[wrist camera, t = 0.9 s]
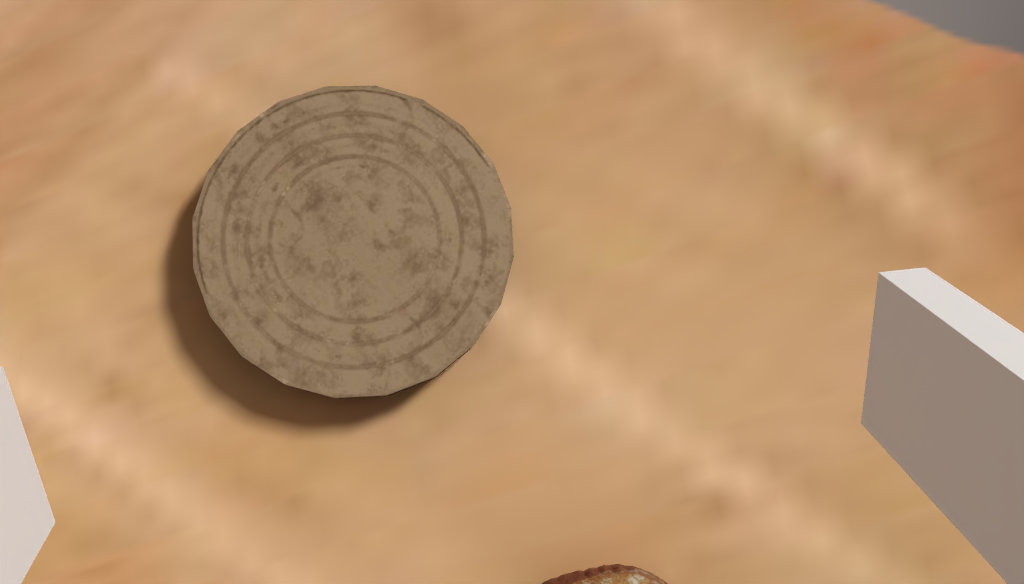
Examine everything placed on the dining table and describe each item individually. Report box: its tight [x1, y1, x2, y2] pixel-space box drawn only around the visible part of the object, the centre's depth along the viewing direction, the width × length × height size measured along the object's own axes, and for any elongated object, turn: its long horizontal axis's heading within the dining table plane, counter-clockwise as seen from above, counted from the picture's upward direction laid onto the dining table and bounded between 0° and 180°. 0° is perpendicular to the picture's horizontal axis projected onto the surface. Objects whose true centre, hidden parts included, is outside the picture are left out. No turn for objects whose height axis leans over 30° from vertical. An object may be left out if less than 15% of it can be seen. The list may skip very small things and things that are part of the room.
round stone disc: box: [192, 86, 514, 398], centre depth 45 cm, size 16×16×3 cm
